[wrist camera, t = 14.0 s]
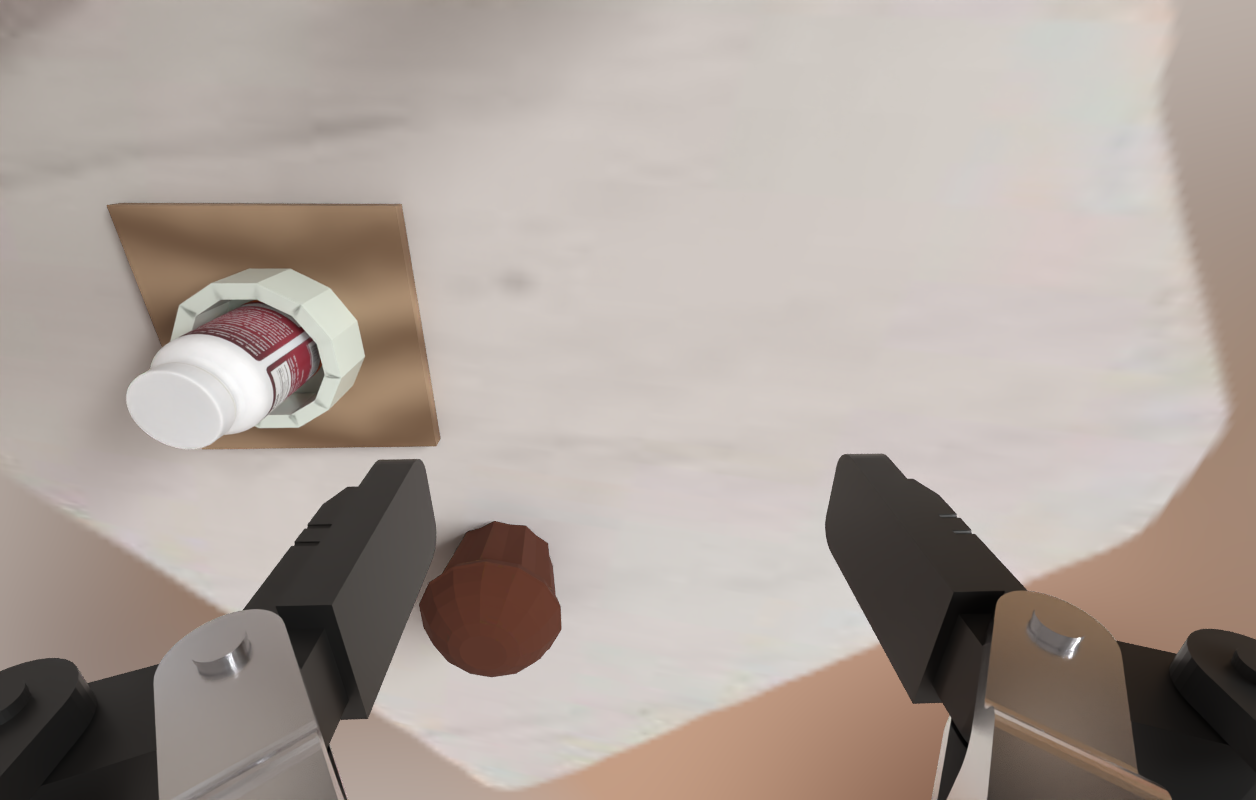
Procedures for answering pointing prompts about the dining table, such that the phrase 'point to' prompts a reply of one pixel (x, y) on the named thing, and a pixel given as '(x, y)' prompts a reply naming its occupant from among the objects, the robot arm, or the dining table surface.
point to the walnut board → (326, 252)
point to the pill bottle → (222, 376)
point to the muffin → (494, 602)
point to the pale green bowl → (315, 316)
